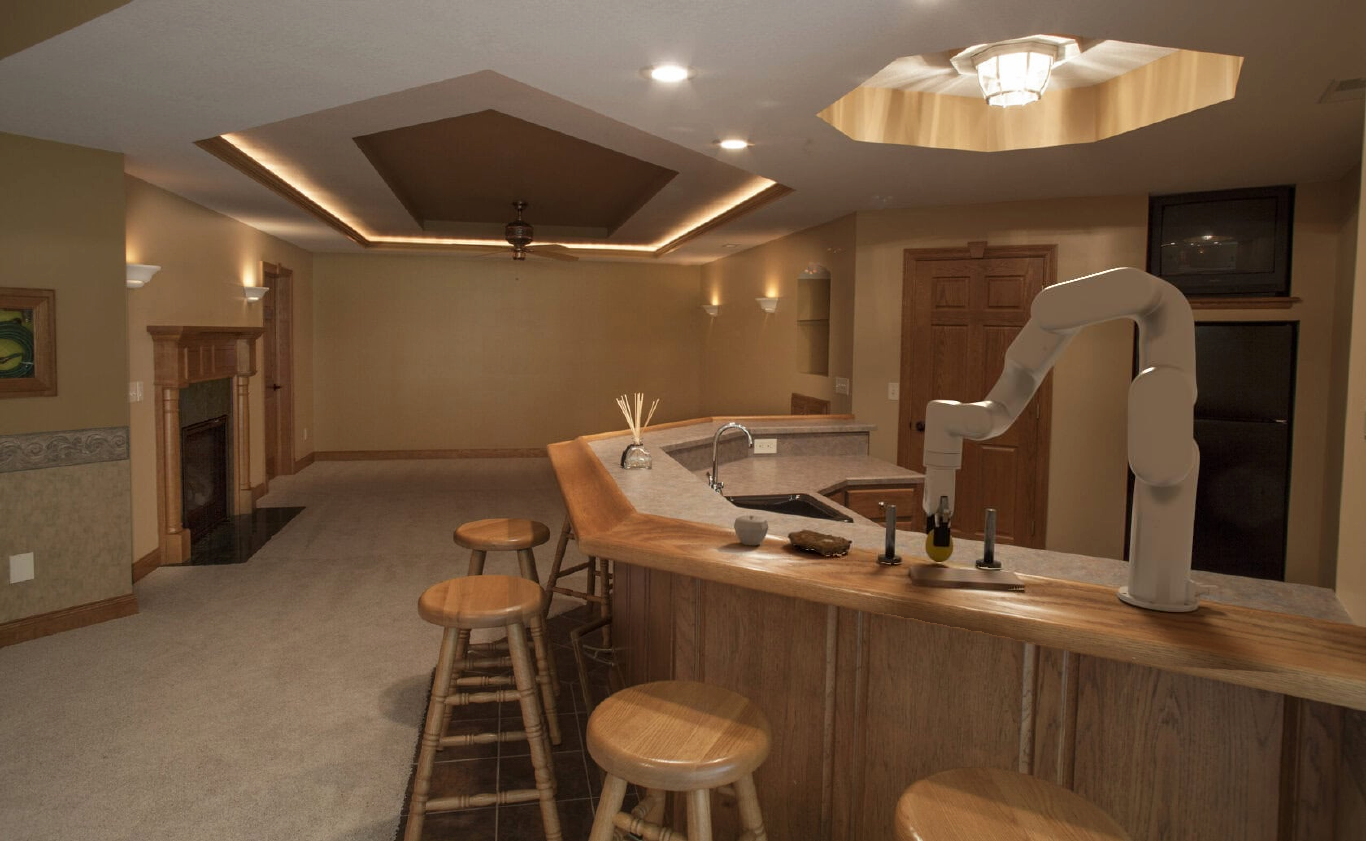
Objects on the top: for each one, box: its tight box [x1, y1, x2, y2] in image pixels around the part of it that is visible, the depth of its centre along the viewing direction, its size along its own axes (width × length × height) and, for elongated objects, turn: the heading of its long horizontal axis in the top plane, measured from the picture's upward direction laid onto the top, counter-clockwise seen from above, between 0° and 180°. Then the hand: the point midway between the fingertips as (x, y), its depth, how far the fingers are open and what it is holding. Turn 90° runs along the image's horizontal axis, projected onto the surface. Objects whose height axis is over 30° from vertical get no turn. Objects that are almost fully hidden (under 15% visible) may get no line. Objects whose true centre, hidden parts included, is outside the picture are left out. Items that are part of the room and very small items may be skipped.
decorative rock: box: [787, 529, 853, 557], centre depth 180 cm, size 11×4×15 cm
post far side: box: [877, 504, 903, 564], centre depth 170 cm, size 5×5×12 cm
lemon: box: [924, 530, 954, 563], centre depth 169 cm, size 6×6×8 cm
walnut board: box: [908, 565, 1026, 590], centre depth 157 cm, size 20×9×1 cm, turn 82°
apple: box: [733, 514, 769, 546], centre depth 185 cm, size 8×8×7 cm
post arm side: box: [975, 508, 1002, 569], centre depth 167 cm, size 5×5×12 cm
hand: (937, 540), depth 169 cm, fingers open, 9 cm apart
